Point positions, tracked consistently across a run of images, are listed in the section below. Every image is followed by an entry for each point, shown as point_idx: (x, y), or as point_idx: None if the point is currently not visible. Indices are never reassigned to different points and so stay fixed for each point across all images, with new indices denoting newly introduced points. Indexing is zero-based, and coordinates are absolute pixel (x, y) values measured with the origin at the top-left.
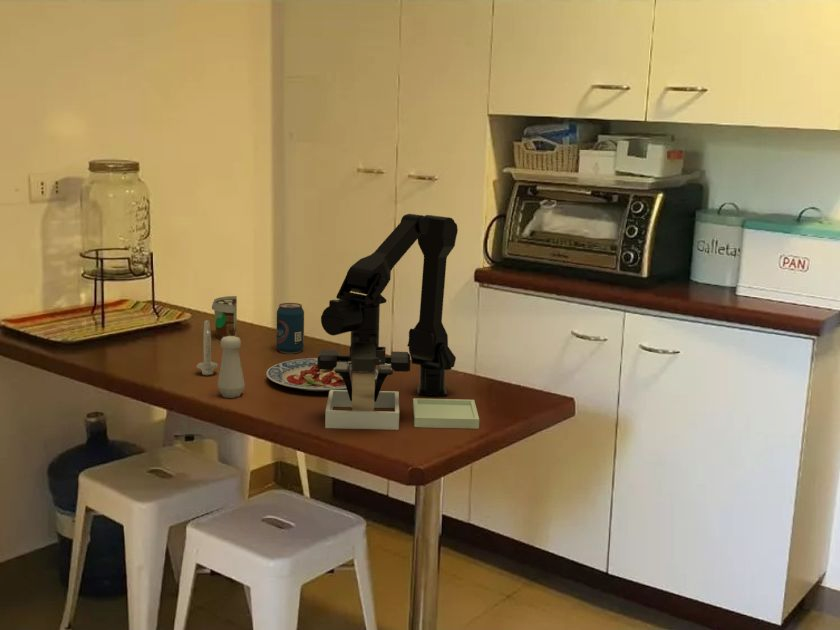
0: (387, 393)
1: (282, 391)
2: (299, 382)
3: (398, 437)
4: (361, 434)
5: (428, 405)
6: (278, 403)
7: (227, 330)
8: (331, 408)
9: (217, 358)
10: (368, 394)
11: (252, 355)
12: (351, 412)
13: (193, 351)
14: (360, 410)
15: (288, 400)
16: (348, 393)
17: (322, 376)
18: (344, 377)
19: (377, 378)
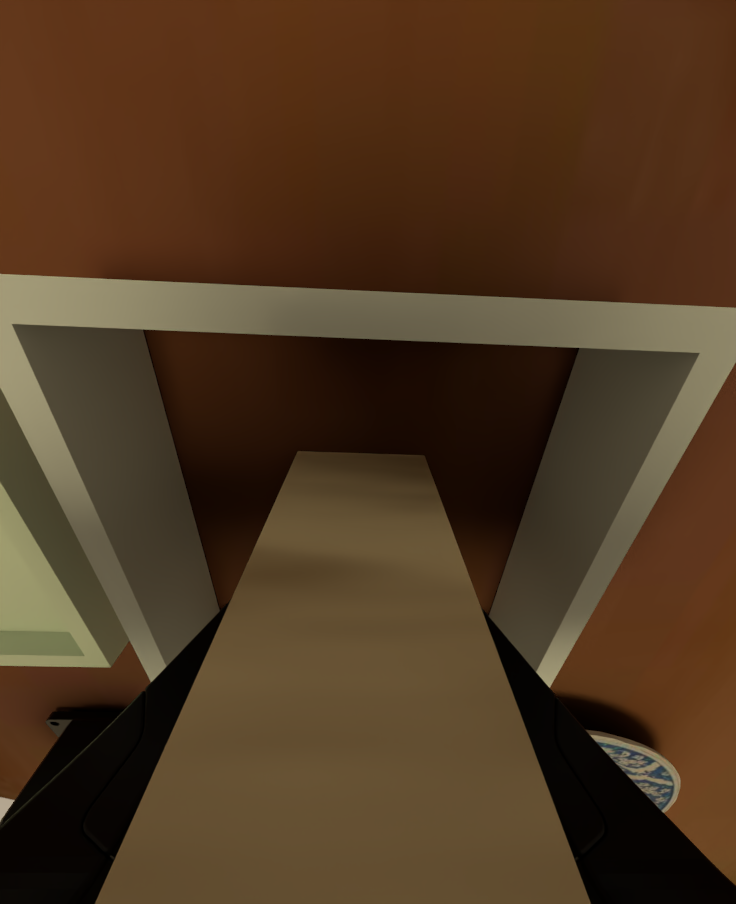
0: None
1: (632, 721)
2: None
3: (30, 40)
4: (372, 140)
5: (40, 620)
6: (703, 639)
7: None
8: (550, 539)
9: (698, 845)
10: (300, 588)
11: None
12: (483, 299)
13: (729, 862)
14: (376, 488)
15: (648, 664)
16: (492, 623)
17: None
18: (709, 901)
19: (73, 897)
